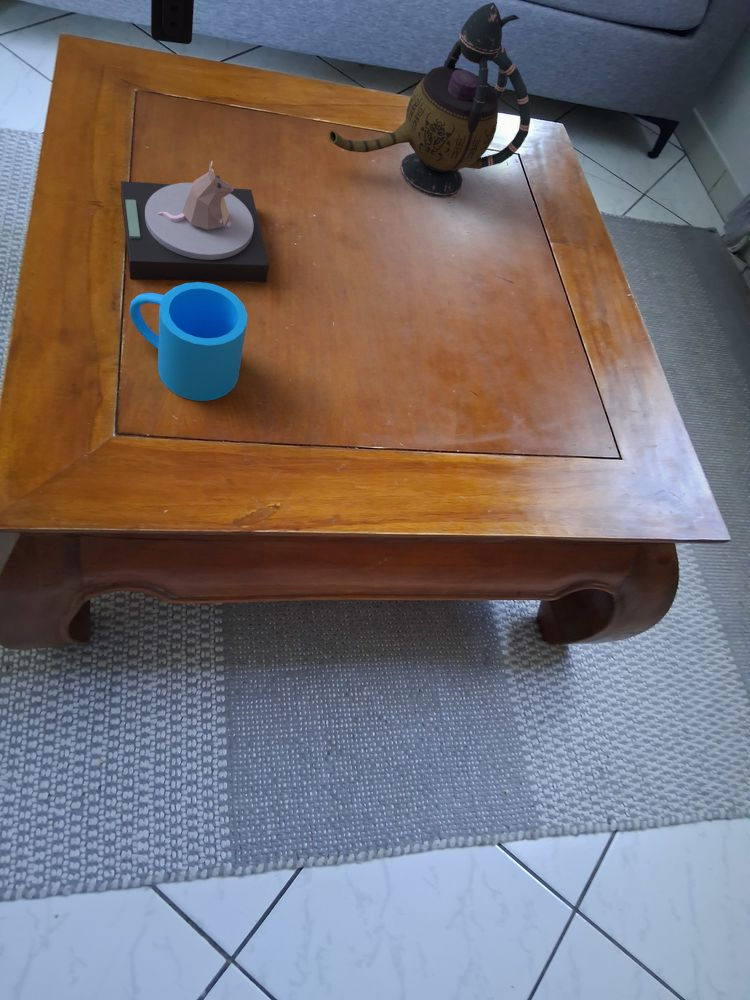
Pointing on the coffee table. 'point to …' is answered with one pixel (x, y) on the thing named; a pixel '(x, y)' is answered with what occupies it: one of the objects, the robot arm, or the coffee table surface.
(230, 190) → the mouse figurine
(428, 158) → the teapot
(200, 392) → the mug
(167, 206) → the kitchen scale
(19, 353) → the coffee table surface
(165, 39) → the robot arm
